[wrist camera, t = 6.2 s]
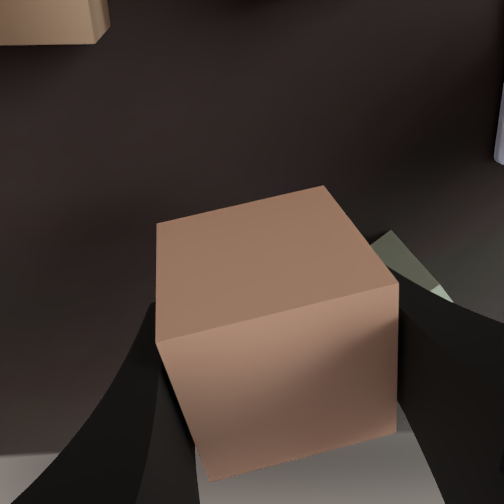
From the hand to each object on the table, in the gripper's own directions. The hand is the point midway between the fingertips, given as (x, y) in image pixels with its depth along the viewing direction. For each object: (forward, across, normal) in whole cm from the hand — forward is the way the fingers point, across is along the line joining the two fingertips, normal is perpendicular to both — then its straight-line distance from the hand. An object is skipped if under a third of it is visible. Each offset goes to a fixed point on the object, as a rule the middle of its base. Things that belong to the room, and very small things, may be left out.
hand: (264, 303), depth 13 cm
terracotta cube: (+2, 0, 0) cm, 2 cm away
